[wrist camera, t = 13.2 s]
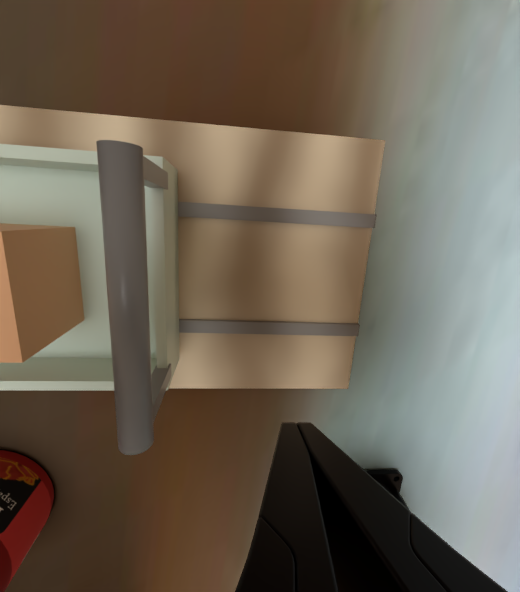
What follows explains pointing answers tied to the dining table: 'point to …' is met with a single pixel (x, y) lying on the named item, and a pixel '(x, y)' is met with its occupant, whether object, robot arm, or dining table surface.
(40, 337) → the block
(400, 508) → the robot arm
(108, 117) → the track
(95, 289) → the tray with handle
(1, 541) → the canned food
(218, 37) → the dining table surface
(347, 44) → the dining table surface
